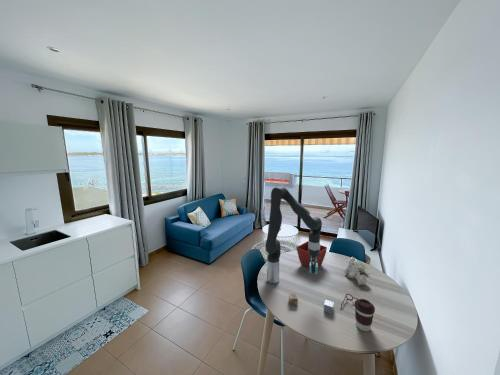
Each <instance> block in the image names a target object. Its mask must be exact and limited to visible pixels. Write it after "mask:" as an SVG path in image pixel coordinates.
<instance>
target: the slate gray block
mask: <svg viewBox="0 0 500 375" xmlns="http://www.w3.org/2000/svg"><path fill="white" fill-rule="evenodd" d="M334 304H335V302H334V301H331V300H328V299H325V300H324V303H323V313H328V314H330V315H333V313H334V310H335V309H334V308H335V306H334Z"/></svg>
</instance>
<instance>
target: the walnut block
mask: <svg viewBox="0 0 500 375" xmlns="http://www.w3.org/2000/svg"><path fill="white" fill-rule="evenodd" d="M298 301H299V298H298V294H297V293H292V292H290V293H288V302H289V306H292V307H293V306H295V307H296V306H299V305H298V304H299V302H298Z"/></svg>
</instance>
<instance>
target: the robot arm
mask: <svg viewBox="0 0 500 375" xmlns="http://www.w3.org/2000/svg"><path fill="white" fill-rule="evenodd" d="M282 200H284V201H285V202H287V203H288V205H289V206H290V208H291V211H293V212H294V213H295V215H296V216H298V218H300V219H301V220H302V221H303V223H304V225H305V226H306V227H307V228H309V229H310V231H309V232H308V233H309V234H308V241H309V242H308V254H309V255H311V269H312V273H311V274H315V268H316V267H315V265H316V261H317V256H319V255H320V245H321V232H322V227H323V226H322V225H323V223H322V220H321V218H320V217H317V216H314V217H312V216H311V213H310V211H309V210H308V209H307V208H305V207H304V206H303V205H302V204H301V203H300V202H299V201H298V200H297V199H296V198H295V197H294V196H293V195H292V193H290V191H289V190H288V189H287V188H286V187H285V186H283V185H280V186H276V187H273V188H272V190H271V192H270V208H269V211H270V212H269V219H268V228H267V236H266V241H265V244H264V246H265V251H266V252H267V253H268V254H267V259H266V262H267V265H266V266H267V269H266V282H268V283H270V284H272V283H273V285H274V284H278V283H279V282H280V257H281V249H282V248H281V242H280V241H279V239H277V238H278V235H279V232H280V231H281V227H282V225H283V224H282V222H283V215H282V212H281V202H282ZM315 275H316V274H315Z"/></svg>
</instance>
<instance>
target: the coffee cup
mask: <svg viewBox="0 0 500 375" xmlns="http://www.w3.org/2000/svg"><path fill="white" fill-rule="evenodd" d="M357 299H358V300H357ZM357 299H355V301H354V313H355V314H354V315H355V325H356V327H357V328H358V329H359V330H360V331H363V332H369V331H370V330H371V329H372V328H371V327H372V324H373V318H374V314H375V312H376V307H375V305H374V304H373V303H372V302H370V301H369V300H368V299H365V298H357Z"/></svg>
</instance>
